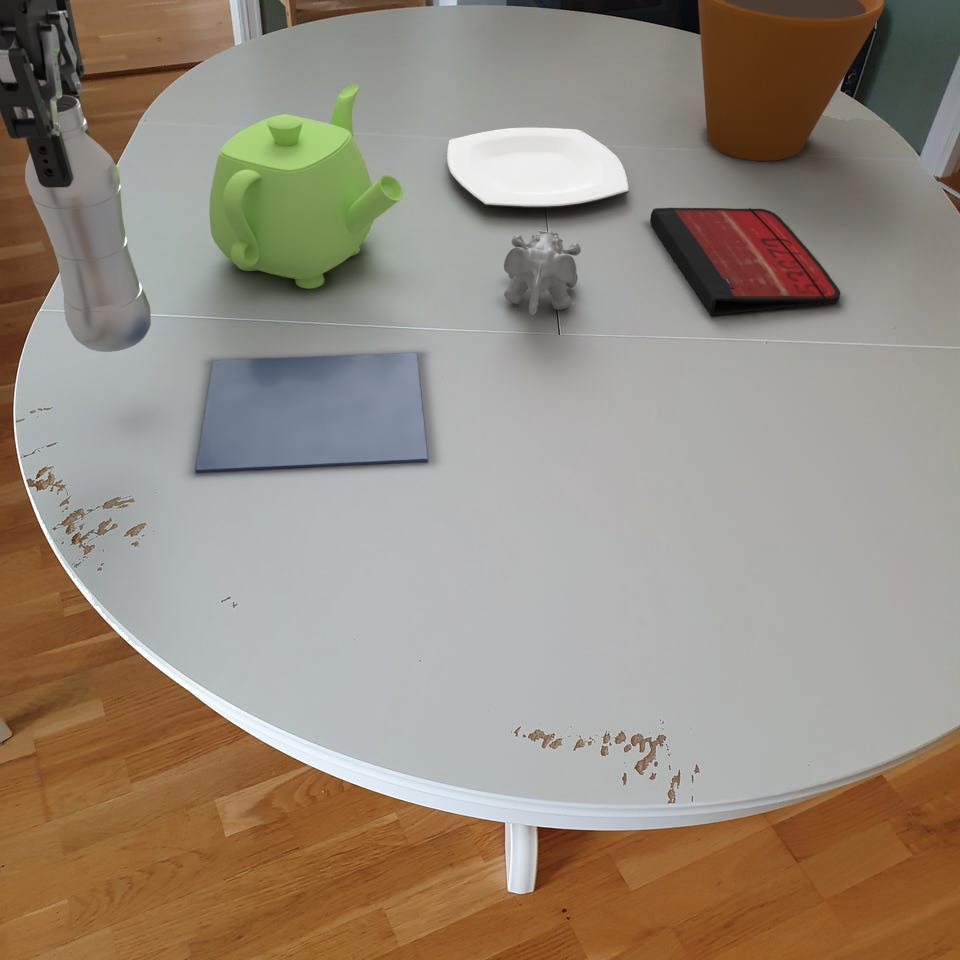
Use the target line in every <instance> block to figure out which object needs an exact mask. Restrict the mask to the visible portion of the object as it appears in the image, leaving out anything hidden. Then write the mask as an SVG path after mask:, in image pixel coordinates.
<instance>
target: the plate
mask: <svg viewBox="0 0 960 960" xmlns="http://www.w3.org/2000/svg"><path fill="white" fill-rule="evenodd" d="M446 153H447V154H446V158H447V159H446V160H447V166H448V169H449V172H450V174H451V175H452V177H453V178H454V179H455V181H456V182H457V183H458V184H459V185H460V186H461V187H462V188H463V189H464V190H465V191H466V192H468V193H469V194H470V195H471V196H473V197H474V198H475V199H477V201H479V202H480V203H482V204H483V205H484V206H488V207H489V206H490V207H506V208H526V209H527V208H529V209H531V208H532V209H537V208H538V209H539V208H542V209H545V208H546V209H547V208H550V209H551V208H565V207H571V206H579V205H583V204H589V203H592V202H597V201H601V200H605V199H610V198H613V197H616V196H619V195H623V194H627V193H629V190H630V189H629V182H628V178H627V172H626V171H625V167H624V166H623V163H622V162H621V160H620V159H619V157H618V156H617V155H616V154H615V153H614V152H613V151H612V150H610V149H609V148H608V147H607V146H605V145H604V144H603V143H601V142H600V141H598V140H597V139H595V138H594V137H592V136H590V135H589V134H587V133H585V132H584V131H583V130H580V129H577V128H576V129H575V128H574V129H573V128H556V127H509V128H500V129H494V130H487V131H482V132H477V133H472V134H468V135H464V136H460V137H459V136H458V137H456V138H451V139H449V140H448V145H447V152H446Z"/></svg>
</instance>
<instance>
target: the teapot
mask: <svg viewBox="0 0 960 960" xmlns="http://www.w3.org/2000/svg"><path fill="white" fill-rule="evenodd" d="M359 91H360V86H359V84H357V83H352V84H349V85H347V86H346V87H344V89H342V90H341V91H340V92H339V94H338V96H337V97H336V100H335V103H334V106H333V109H332V113H331V118H330V122H329V123H327V122H324V121H320V120H319V121H318V120H315V119H311V118H306V117H301V116H297V115H293V114H277V115H274V116H271V117H267V118H264V119H261V120H260V121H257V122H255V123H253V124H252V125H249V126H247V127H245V128H244V129H242V130H240V131H239V132H238V133H236V134H235V135H233V136H232V137H231V138H229V139H228V140H227V141H226V142H225V143H224V144H223V146H222V147H221V148H220V150H219V153H218V157H217V160H216V164H215V169H214V172H213V173H214V174H213V179H212V182H211V188H210V196H209V227H210V233H211V238H212V240H213V242H214V243H215V246H217V248H218V249H219V250H220V251H221V253H222V254H223V255H224V256H225V257H226V258H227V259H228V260H230V261H232V262H233V264H234V265H236V266H237V268H238V269H240V270H242V271H245V272H254V271H258V272H264V273H266V274H271V275H275V276H279V277H283V278H288V279H294V280H295V285H297V286H298V287H299V288H303V289H316V288H319V287H321V286H322V285H324V283H325V276H324V274H325V273H327V272H328V271H330V270H331V269H334V268H336V267H337V266H338V265H340V264H342V263H343V262H345V261H346V260H347V259H349V258H350V257H353V256H356V255H358V254H359V253H360V251H361V248H360V246H361V245H362V244H363V242H364V241H365V239H366V237H367V236H368V234H369V232H370V230H371V228H372V225H373V223H374V221H375V220H376V219H378V218H379V217H381V215H383V214H384V213H385V212H386V211H388V210H389V209H390V208H392V207H394V205H396V204H397V203H399V201H400V200H401V199H402V198H403V197H404V189H403V186H402V185H401V183H400V181H398V180H397V179H396V177H394V176H392V175H390V174H383V175H382V176H381V177H379V179H378V180H376V181H375V182H374V183H373V184H372V179H371V176H370V173H369V170H368V168H367V165H366V162H365V160H364V158H363V155H362V153H361V151H360V149H359V146H358V144H357V142H356V139H355V137H354V129H353V107H354V103H355V100H356V97H357V95H358V92H359Z"/></svg>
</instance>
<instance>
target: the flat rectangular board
mask: <svg viewBox="0 0 960 960" xmlns="http://www.w3.org/2000/svg"><path fill="white" fill-rule="evenodd" d="M418 361H419V359H418V352H403V353H401V352H400V353H373V354H348V355H347V354H346V355H322V356H321V355H320V356H296V357H295V356H289V357H267V358H266V357H264V358H263V357H262V358H237V359H235V358H234V359H214V360H212V363H211V371H210V377H209V382H208V388H207V389H208V390H207V395H206V400H205V401H206V402H205V407H204V414H203V420H202V426H201V432H200V437H199V444H198V449H197V457H196V463H195V468H194V469H195V470H194V472H195V473H211V472H212V473H213V472H235V471H256V470H273V469H293V468H294V469H296V468H315V467H318V468H319V467H335V466H337V467H338V466H356V465H357V466H358V465H378V464H380V465H381V464H398V463H417V462H418V463H419V462H420V463H421V462H428V461H429V457H428V446H427V436H426V429H425V418H424V408H423V399H422V390H421V380H420V371H419V362H418Z"/></svg>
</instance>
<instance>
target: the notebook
mask: <svg viewBox="0 0 960 960" xmlns="http://www.w3.org/2000/svg"><path fill="white" fill-rule="evenodd" d="M649 221H650V225H651V226H652V227H653V229H654V231H655V232H656V234H657V236H658V237H659V239H660V240H661V243H663V245H664V247H665V248H666V249H667V251H668V253H669V254H670V256H671V257H672V258H673V260H674V262H675V264H676V265H677V266H678V268H679V269H680V271H681V272H682V274H683V276H684V277H685V279H686V280H687V281H688V283H689V284H690V286H691V287H692V288H693V290H694V292H695V293H696V295H697V297H698V299H700V300H701V302H702V304H703V305H704V306H705V308H706V309H707V311H708V313H709V314H710V316H713V317H715V316H722V315H723V316H724V315H729V314H738V313H746V312H747V313H748V312H757V311H766V310H775V309H776V310H777V309H785V308H795V307H805V306H806V307H807V306H818V305H823V306H824V305H826V304H834V303H837V302H838V301H839V300H840V297H841V291H840V289H839V287H838V286H837V285H836V283H835V282H834V281H833V279H832V277H830V274H829V273H828V272H827V271H826V270H825V268H824V267H823V266H822V263H820V262H819V261H818V260H817V258H816V256H814V255H813V254H812V252H811V251H810V250H809V248H808V247H807V246H806V245H805V244H804V243H803V242H802V241H801V239H800V238H799V237H798V236H797V235H796V233H795V232H794V231H793V230H792V229H791V228H790V227H789V226H788V225H787V223H786V222H785V221H784V220H783V219H782V217H780V216H779V215H777V214H776V213H775V212H773V211H771V210H769V209H765V208H751V207H749V208H731V207H727V208H725V207H658V208H657V207H656V208H653V209H652V211H651V213H650V220H649Z"/></svg>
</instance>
